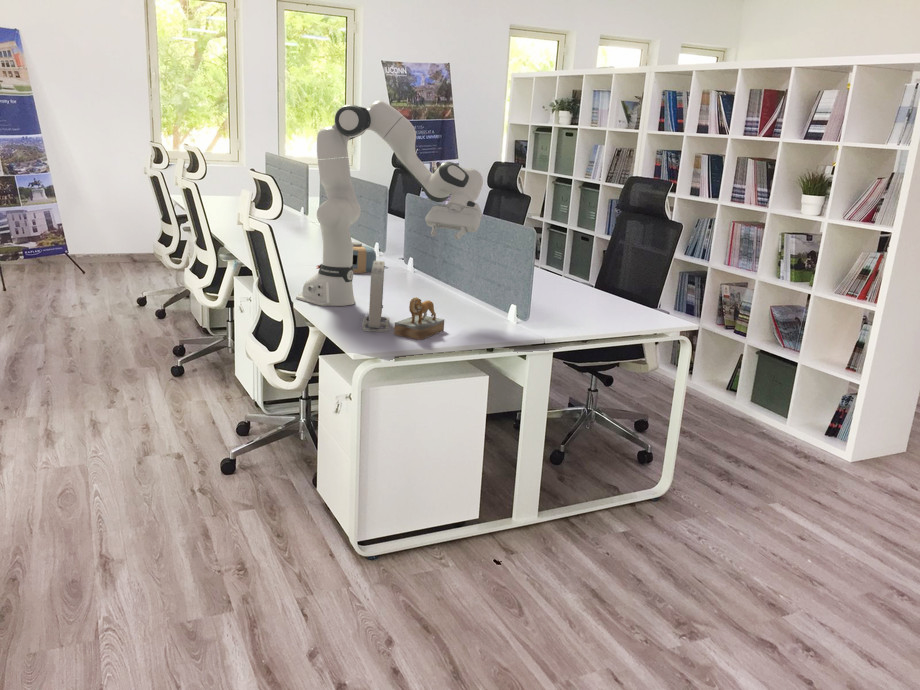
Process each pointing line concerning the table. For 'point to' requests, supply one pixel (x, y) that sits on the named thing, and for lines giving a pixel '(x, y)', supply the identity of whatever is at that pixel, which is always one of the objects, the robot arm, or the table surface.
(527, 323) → the table surface
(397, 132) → the robot arm
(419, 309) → the lion figurine
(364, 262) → the alarm clock
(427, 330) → the plinth
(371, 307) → the network device
